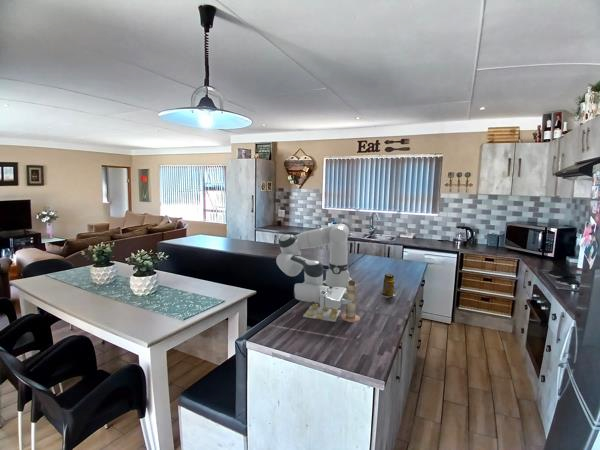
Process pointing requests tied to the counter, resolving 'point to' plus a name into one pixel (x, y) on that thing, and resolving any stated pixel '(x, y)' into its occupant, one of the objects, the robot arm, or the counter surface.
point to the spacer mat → (325, 315)
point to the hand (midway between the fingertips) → (353, 299)
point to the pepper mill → (352, 295)
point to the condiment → (388, 286)
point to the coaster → (350, 319)
